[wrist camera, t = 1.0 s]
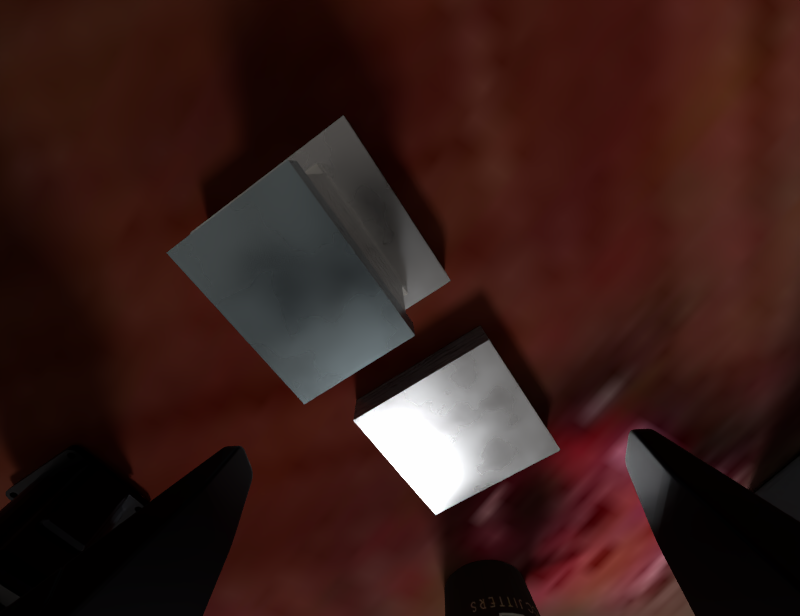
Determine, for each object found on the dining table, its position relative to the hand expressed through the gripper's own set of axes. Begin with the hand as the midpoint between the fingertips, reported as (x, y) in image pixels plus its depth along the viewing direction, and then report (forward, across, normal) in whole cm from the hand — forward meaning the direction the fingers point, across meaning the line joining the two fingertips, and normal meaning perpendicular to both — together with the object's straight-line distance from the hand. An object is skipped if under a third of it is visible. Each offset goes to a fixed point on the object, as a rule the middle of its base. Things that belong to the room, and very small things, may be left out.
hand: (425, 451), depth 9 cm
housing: (+11, +5, -2) cm, 12 cm away
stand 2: (+13, -1, +10) cm, 16 cm away
